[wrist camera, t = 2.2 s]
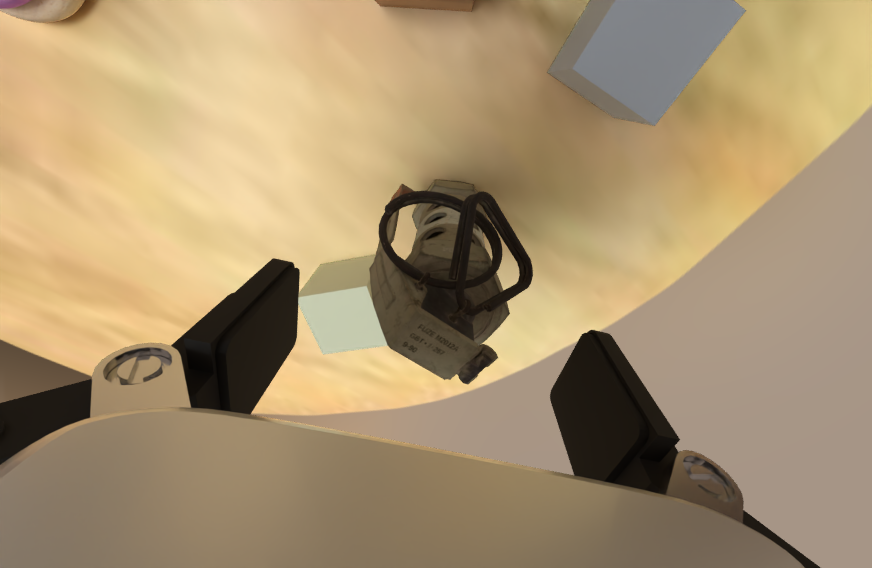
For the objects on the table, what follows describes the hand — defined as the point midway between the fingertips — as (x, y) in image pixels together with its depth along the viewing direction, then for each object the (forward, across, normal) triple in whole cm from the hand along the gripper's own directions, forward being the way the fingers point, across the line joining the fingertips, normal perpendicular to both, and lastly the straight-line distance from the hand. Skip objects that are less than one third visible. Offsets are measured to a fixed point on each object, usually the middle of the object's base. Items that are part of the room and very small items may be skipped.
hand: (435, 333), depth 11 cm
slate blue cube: (+15, -7, -11) cm, 19 cm away
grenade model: (+15, 0, -1) cm, 15 cm away
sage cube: (+15, +5, +8) cm, 18 cm away
